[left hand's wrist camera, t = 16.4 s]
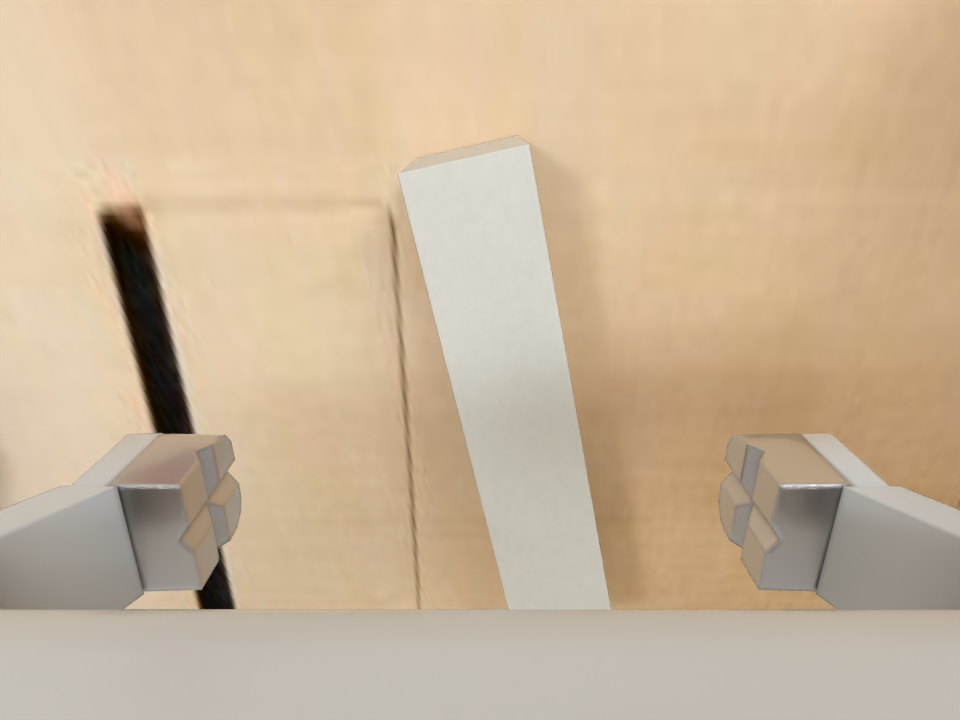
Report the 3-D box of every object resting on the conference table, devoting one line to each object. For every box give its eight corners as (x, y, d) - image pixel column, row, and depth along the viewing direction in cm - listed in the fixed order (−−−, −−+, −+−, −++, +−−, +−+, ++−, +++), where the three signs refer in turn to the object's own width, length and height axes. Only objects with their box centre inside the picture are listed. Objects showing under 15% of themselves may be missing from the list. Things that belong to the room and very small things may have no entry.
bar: (416, 158, 33) (397, 173, 25) (518, 135, 32) (529, 143, 25) (517, 574, 43) (525, 675, 35) (595, 561, 42) (620, 660, 35)
